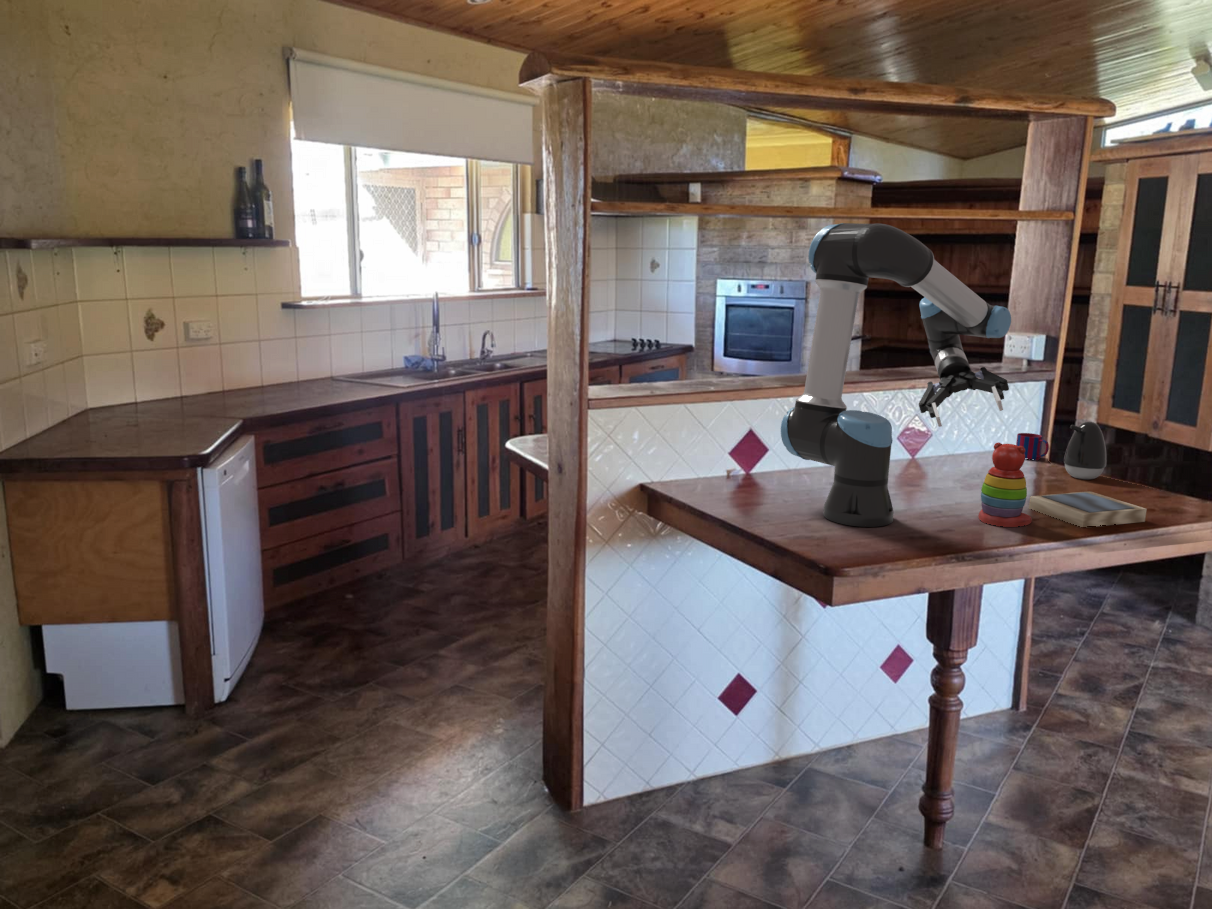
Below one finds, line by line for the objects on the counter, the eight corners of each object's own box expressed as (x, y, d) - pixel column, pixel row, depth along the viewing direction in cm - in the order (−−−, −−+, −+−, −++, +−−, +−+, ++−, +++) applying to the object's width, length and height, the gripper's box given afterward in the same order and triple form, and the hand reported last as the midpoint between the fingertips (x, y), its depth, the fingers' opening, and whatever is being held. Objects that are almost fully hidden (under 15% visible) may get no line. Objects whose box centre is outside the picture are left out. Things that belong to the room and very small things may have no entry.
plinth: (1082, 527, 210) (1083, 513, 209) (1028, 508, 225) (1030, 495, 224) (1144, 521, 216) (1146, 508, 215) (1088, 503, 231) (1090, 490, 230)
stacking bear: (1034, 522, 214) (1043, 444, 210) (1017, 531, 207) (1026, 450, 203) (986, 512, 221) (994, 436, 217) (968, 520, 214) (976, 443, 210)
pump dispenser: (1053, 472, 262) (1060, 418, 258) (1089, 472, 263) (1096, 418, 260) (1075, 482, 252) (1082, 425, 249) (1112, 481, 253) (1120, 425, 250)
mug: (1028, 454, 284) (1030, 432, 283) (1053, 462, 275) (1056, 439, 274) (1009, 456, 282) (1012, 433, 281) (1034, 463, 273) (1037, 440, 272)
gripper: (1008, 367, 235) (1029, 412, 217) (905, 395, 242) (917, 441, 225) (1003, 341, 231) (1023, 385, 214) (898, 370, 239) (910, 415, 221)
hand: (969, 414), depth 219 cm, fingers open, 13 cm apart
